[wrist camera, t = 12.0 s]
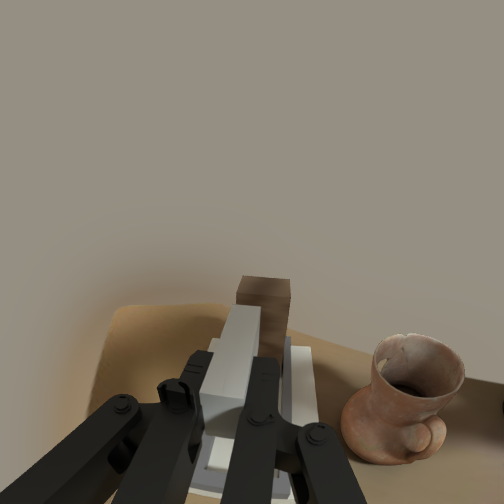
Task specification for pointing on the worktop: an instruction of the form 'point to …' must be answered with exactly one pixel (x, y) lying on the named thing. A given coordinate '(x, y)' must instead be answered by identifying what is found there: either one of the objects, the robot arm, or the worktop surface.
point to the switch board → (290, 408)
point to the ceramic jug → (403, 401)
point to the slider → (268, 311)
